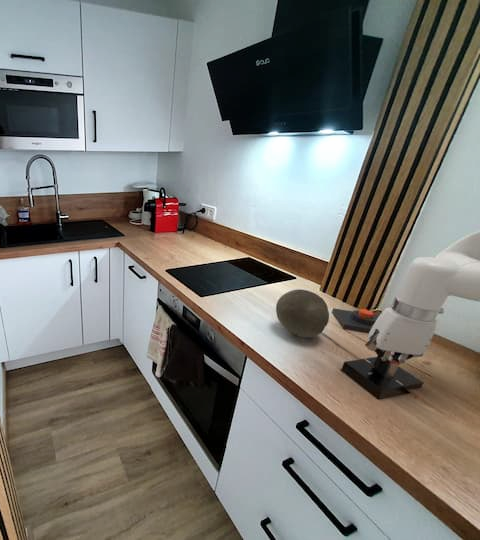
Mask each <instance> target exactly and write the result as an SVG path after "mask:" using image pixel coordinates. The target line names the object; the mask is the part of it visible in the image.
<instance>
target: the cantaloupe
mask: <svg viewBox="0 0 480 540" xmlns="http://www.w3.org/2000/svg"><path fill="white" fill-rule="evenodd" d="M275 312H276V317H277V320H278V321H279V323H280V324H281V325H282V326H283V328H285V329H286V331H288V332H289V333H291V334H293V335H295V336H298V337H301V338H314V337H318V336H319V335H321V334H322V333H323V332H324V330H325V328H326V327H327V326H328V324H329V320H330V312H329V307H328V305H327V302H326V301H325V300H324V299H323V297H321V296H320V295H319V294H317V293H315V292H313V291H311V290H306V289H300V288H299V289H293V290H290V291H288V292H285V293H283V294H282V295H281V296H280V297H279V298H278V300H277V301H276V304H275Z"/></svg>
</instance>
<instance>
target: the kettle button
mask: <svg viewBox="0 0 480 540" xmlns="http://www.w3.org/2000/svg"><path fill="white" fill-rule="evenodd" d="M358 310H359V312H358V315H359V316H361V317H364V318H367V319H371V318H372V315H374V313H373V311H371V310H369V309H365V308H360V309H358Z"/></svg>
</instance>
